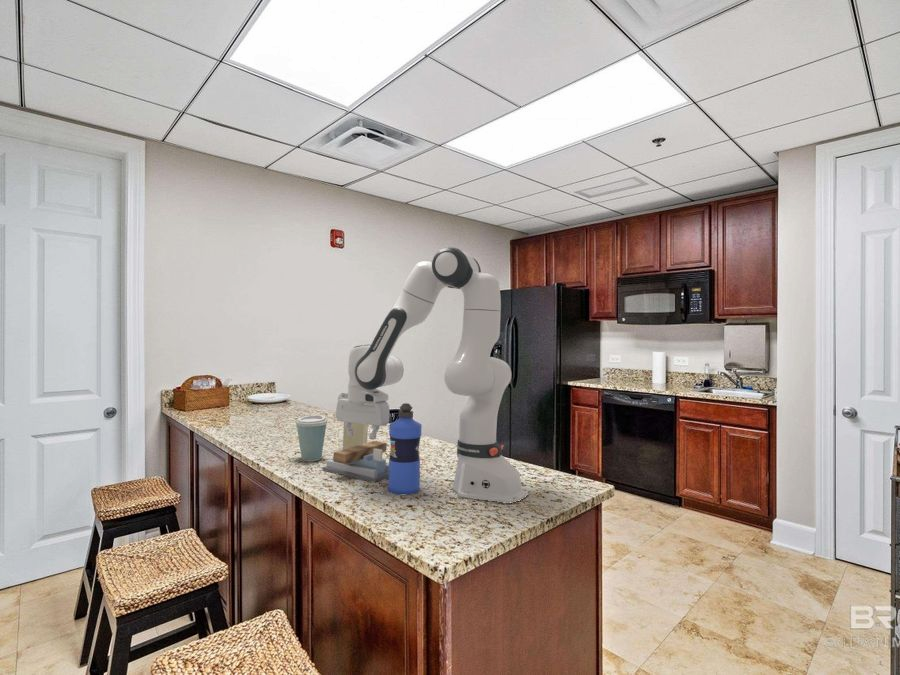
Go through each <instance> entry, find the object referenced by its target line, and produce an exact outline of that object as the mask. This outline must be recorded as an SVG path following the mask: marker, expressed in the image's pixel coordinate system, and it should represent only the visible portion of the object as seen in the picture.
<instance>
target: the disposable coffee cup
mask: <svg viewBox="0 0 900 675" xmlns="http://www.w3.org/2000/svg"><path fill="white" fill-rule="evenodd" d="M327 424H328V420H327V419H326V417H325V415H318V414H315V415H313V414H312V415H306V416H302V417H299V418H298V419H297V421H296V422H295V425H296V430H297V436H298V442H299V449H300V450H299V451H300V456H301V459H302V461H303V462H308V463H309V462H310V463H311V462H312V463H313V462H317V461H320V460H321V458H322V457H323V450H324V443H325V442H324V441H325V438H326V432H327V431H326V429H327Z"/></svg>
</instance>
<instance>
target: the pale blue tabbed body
mask: <svg viewBox="0 0 900 675" xmlns="http://www.w3.org/2000/svg"><path fill="white" fill-rule="evenodd" d="M332 460H334V456H333V457H332ZM348 464H352V465H356V466H361V467H365V468H370V469H375V470H378V472H377V475H379V474H382V473H384V472H386V464H387V460H386V459H385V458H383V453H382V450H381V449H376V448H375V449H374V450H373V453H372V454H369V455H365V456H363V459H361V460H357V461H354V462H351V463H348Z"/></svg>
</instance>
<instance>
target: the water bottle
mask: <svg viewBox="0 0 900 675" xmlns="http://www.w3.org/2000/svg"><path fill="white" fill-rule="evenodd" d="M399 409H400V410H399V411H398V417H399V418H398V419H396V420H395V421H393V422H391V423H389V429H388V430H389V431H388V432H389V433H388V434H389V441H390V453H389V458H388V464H389V477H388V484H387V486H388V487H387V490H388V492H389V491H390V492H389V493H391V492H392V494H394V493H395V495H400V494H407V495H412V493H413V494H416V493H418V492H419V491H420V484H421V482H420V480H421V478H420V477H421V476H420V475H421V457H420V445H421V437H422V428H423V427H422V423H420V422H418V421H417V420H414V418H413V417H414V411H413V406H412V405H411V404H410V403H407V402H406V403H402V404H401V405H400V406H399Z"/></svg>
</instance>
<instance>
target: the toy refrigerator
mask: <svg viewBox="0 0 900 675" xmlns="http://www.w3.org/2000/svg"><path fill="white" fill-rule="evenodd" d="M345 397H346V396H345ZM344 424H345V422H343V433H342V434H343V436H342V450H343V449H347V448H350V447H354V446H358V445H361V444H365V443H368V436H369V434H368V431H369V430H368V429H369V425H368V424H360V423H352V424H351V427H352V430H354V435H353V436H348V435H347V429H346V427H345V425H344Z"/></svg>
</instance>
